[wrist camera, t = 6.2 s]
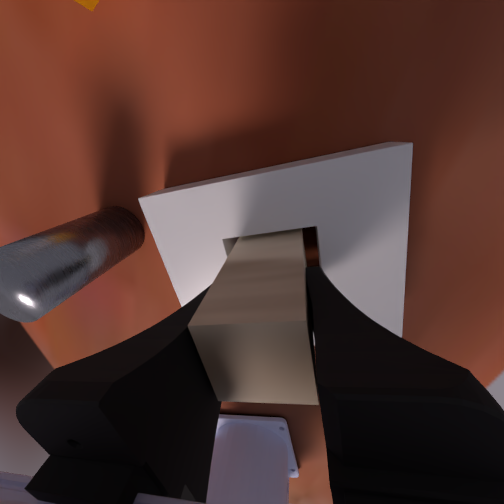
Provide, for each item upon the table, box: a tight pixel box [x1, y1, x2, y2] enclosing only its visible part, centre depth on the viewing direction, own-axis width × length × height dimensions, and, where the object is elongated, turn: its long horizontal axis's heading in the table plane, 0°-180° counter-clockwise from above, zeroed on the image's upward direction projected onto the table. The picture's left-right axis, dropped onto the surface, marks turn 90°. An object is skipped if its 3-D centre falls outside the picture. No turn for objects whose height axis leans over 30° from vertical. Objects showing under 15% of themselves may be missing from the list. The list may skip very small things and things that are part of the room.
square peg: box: [188, 228, 319, 405], centre depth 10 cm, size 3×3×7 cm
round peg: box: [0, 206, 144, 322], centre depth 12 cm, size 3×3×7 cm
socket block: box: [138, 142, 413, 346], centre depth 13 cm, size 10×12×2 cm
